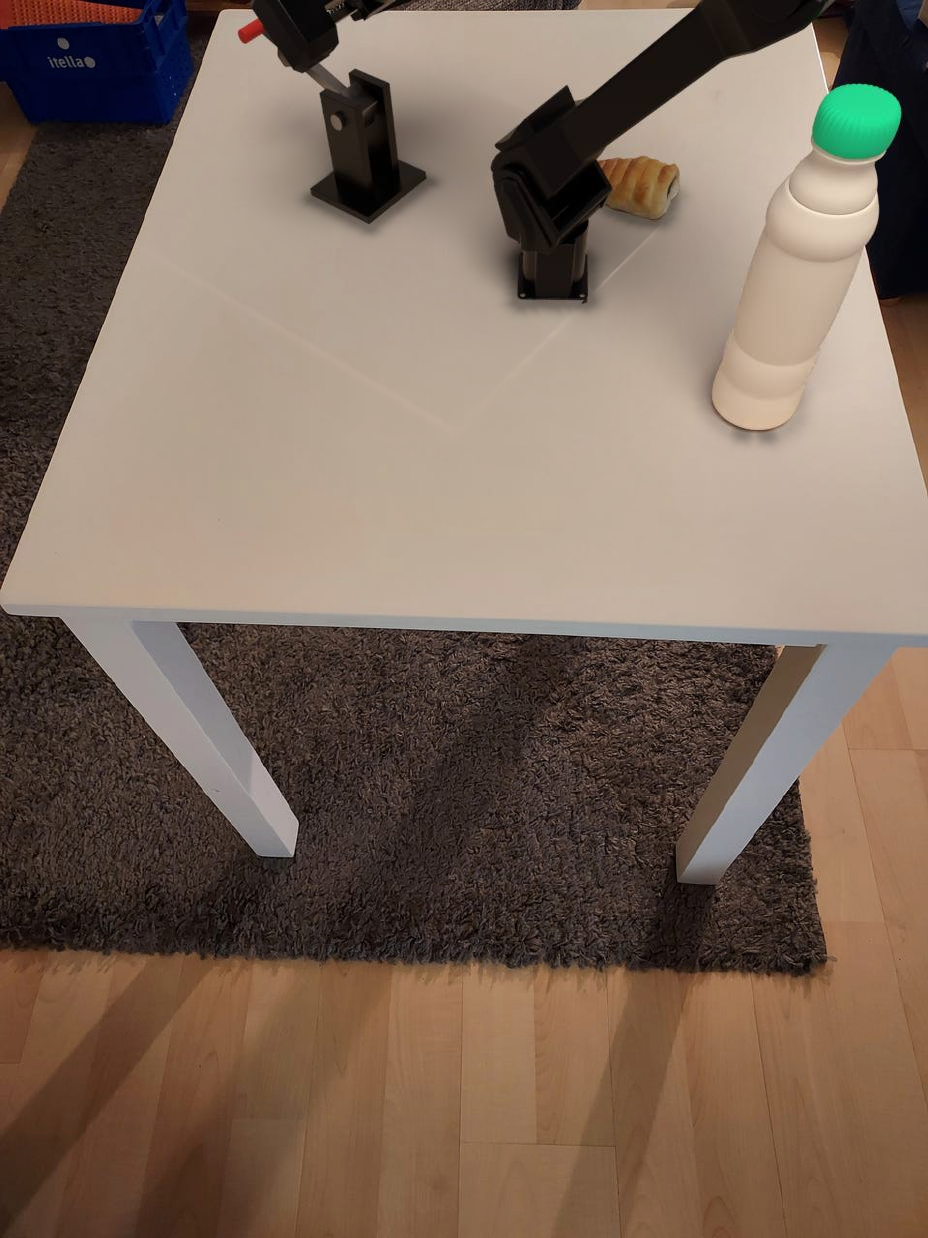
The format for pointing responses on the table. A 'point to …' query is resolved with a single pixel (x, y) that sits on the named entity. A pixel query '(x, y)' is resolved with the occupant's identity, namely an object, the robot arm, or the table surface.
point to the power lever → (320, 75)
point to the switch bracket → (363, 154)
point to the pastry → (641, 185)
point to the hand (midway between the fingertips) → (317, 37)
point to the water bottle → (806, 259)
